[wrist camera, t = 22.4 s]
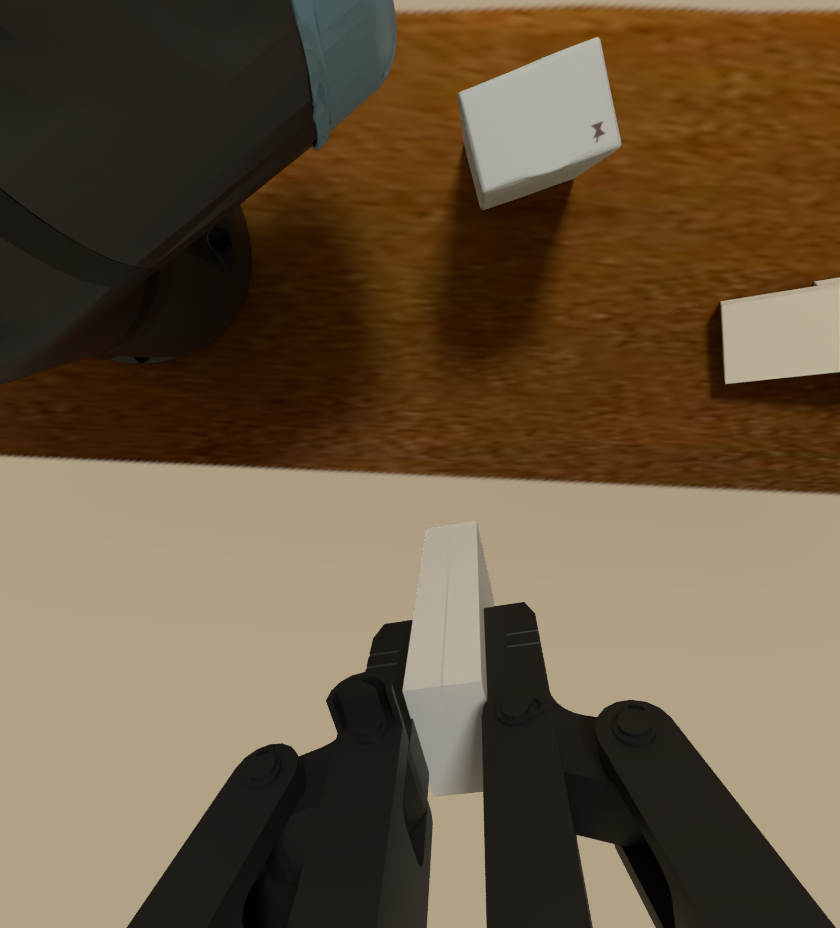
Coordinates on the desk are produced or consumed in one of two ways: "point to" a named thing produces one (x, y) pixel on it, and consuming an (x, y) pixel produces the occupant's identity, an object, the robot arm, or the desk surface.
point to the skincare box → (539, 124)
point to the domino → (781, 334)
